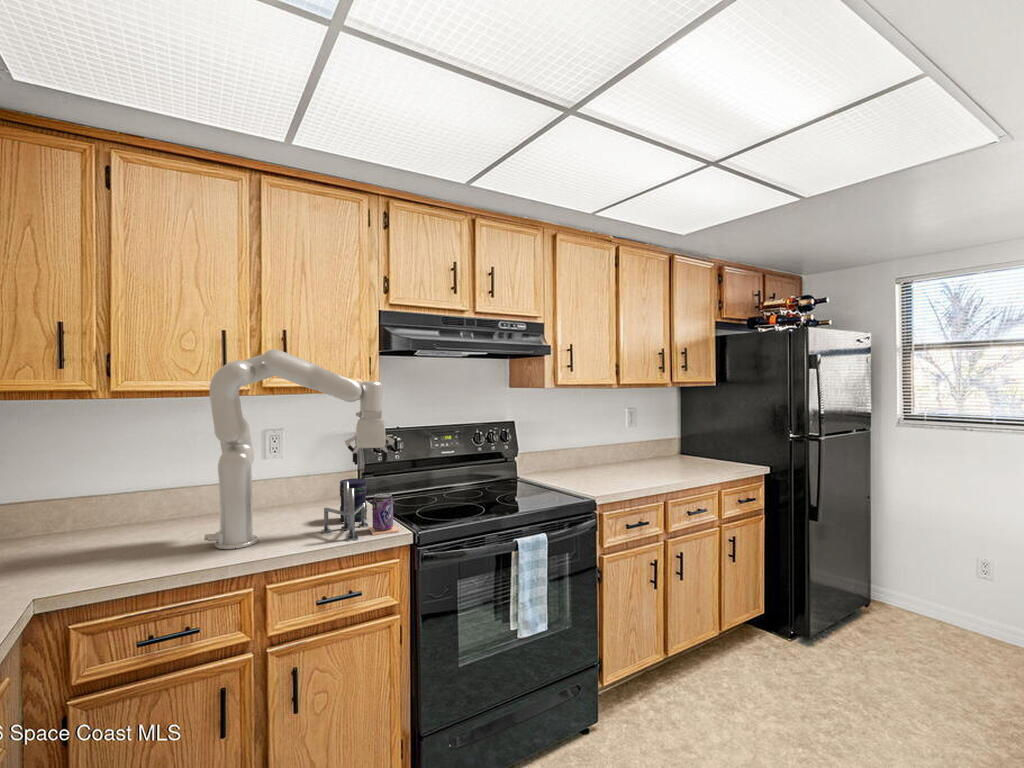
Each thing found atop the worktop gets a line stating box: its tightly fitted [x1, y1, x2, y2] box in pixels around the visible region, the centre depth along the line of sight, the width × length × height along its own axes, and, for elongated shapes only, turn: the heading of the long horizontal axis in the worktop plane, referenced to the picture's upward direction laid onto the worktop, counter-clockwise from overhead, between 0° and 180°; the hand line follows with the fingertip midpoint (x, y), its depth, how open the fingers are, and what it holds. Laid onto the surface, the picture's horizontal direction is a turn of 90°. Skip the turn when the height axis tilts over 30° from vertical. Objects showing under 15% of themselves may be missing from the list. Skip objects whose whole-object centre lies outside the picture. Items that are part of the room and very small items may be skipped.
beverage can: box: [371, 492, 394, 531], centre depth 188 cm, size 7×7×12 cm
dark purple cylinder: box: [339, 477, 368, 523], centre depth 203 cm, size 10×10×15 cm
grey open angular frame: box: [321, 481, 369, 542], centre depth 185 cm, size 16×17×17 cm
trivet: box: [367, 523, 400, 536], centre depth 189 cm, size 9×9×1 cm
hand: (369, 463), depth 190 cm, fingers open, 9 cm apart
